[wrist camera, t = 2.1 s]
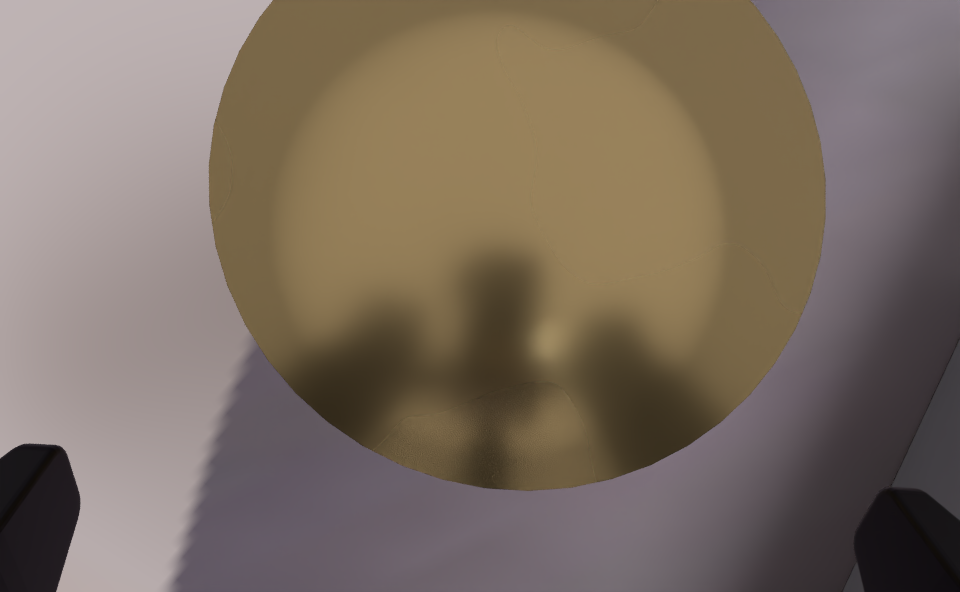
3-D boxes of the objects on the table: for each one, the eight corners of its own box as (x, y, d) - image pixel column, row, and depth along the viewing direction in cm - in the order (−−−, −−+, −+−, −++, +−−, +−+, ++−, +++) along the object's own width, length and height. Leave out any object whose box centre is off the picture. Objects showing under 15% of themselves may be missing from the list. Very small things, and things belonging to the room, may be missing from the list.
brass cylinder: (494, 481, 19) (650, 614, 6) (311, 373, 19) (78, 277, 6) (595, 300, 20) (922, 79, 7) (420, 198, 20) (417, -211, 7)
